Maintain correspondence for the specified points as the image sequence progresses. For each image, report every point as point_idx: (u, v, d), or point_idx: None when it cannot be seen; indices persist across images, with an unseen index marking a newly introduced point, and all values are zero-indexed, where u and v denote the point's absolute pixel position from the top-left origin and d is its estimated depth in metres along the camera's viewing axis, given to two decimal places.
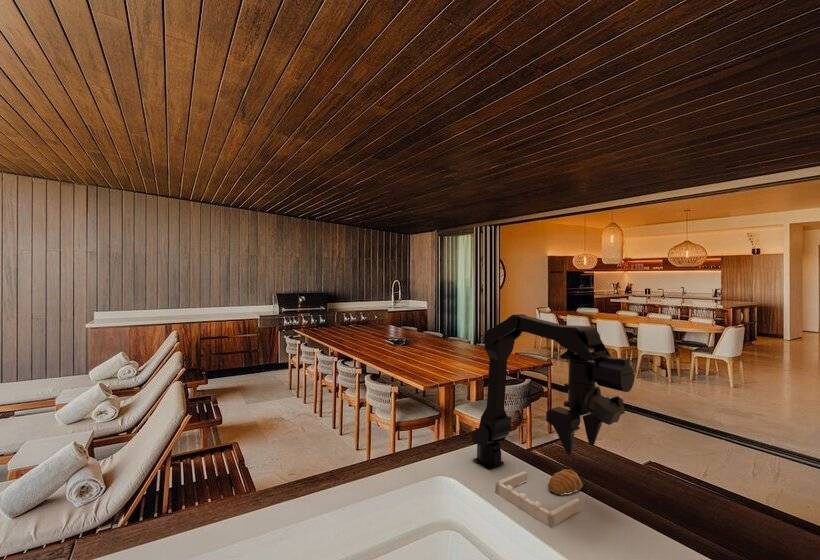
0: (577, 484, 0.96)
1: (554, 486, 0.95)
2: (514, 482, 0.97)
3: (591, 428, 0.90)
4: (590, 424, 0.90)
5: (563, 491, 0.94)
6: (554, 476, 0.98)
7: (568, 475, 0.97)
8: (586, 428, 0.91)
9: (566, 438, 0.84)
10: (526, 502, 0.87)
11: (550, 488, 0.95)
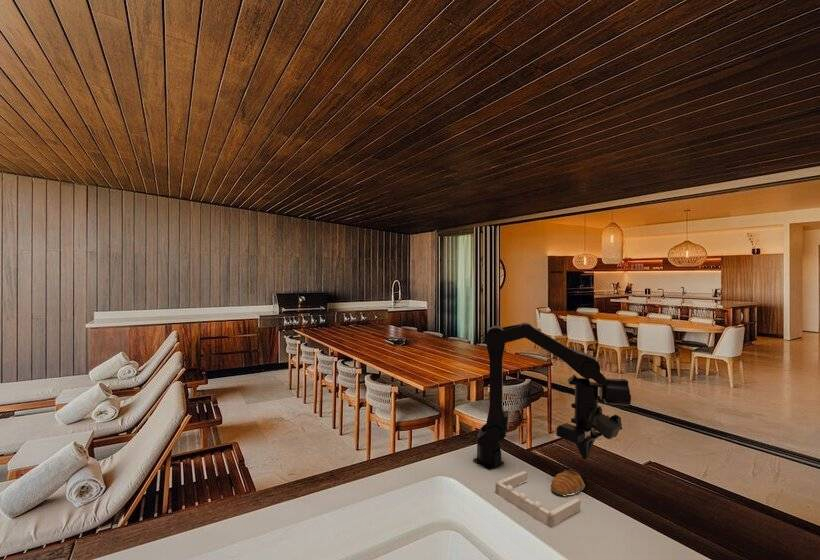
0: (579, 484, 0.96)
1: (557, 487, 0.94)
2: (514, 482, 0.97)
3: None
4: None
5: (566, 492, 0.93)
6: (556, 477, 0.98)
7: (571, 476, 0.97)
8: None
9: (582, 446, 1.02)
10: (526, 502, 0.87)
11: (553, 489, 0.95)
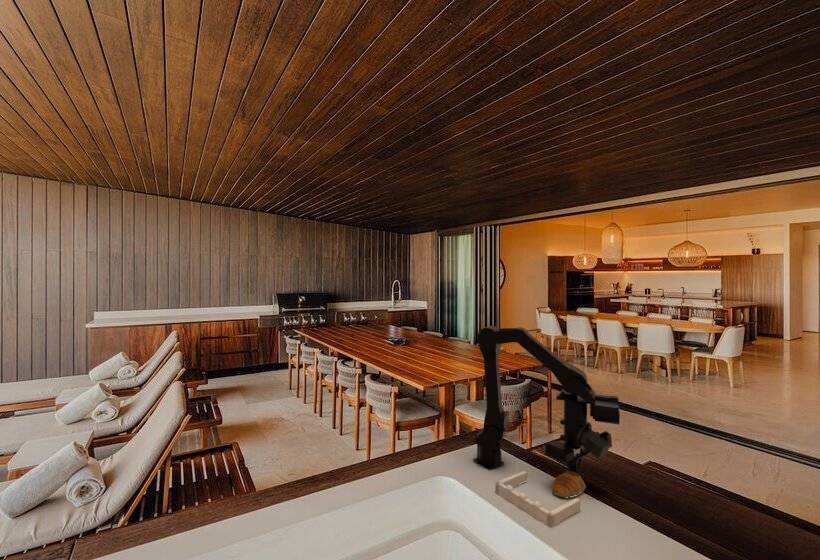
0: (581, 486, 0.95)
1: (559, 489, 0.93)
2: (514, 482, 0.97)
3: None
4: None
5: (568, 494, 0.92)
6: (557, 479, 0.97)
7: (572, 477, 0.96)
8: None
9: (572, 464, 0.99)
10: (526, 502, 0.87)
11: (555, 491, 0.94)
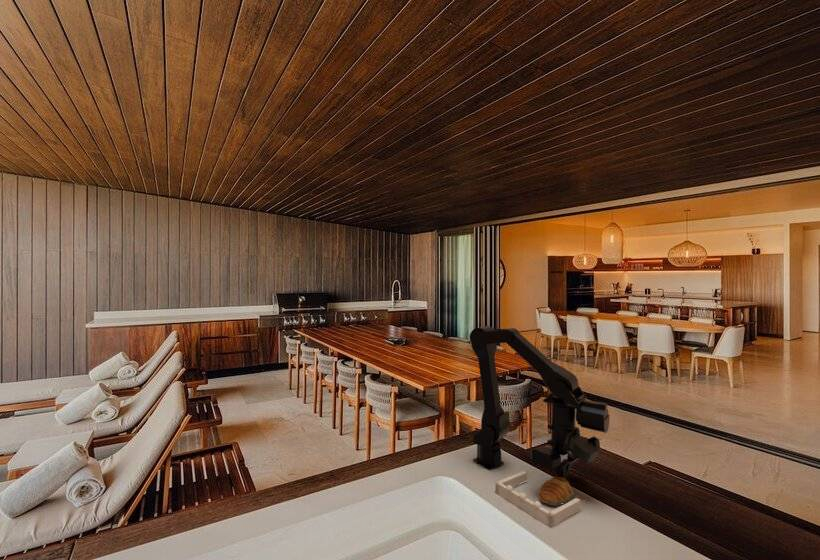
0: (569, 492, 0.92)
1: (547, 496, 0.90)
2: (514, 482, 0.97)
3: None
4: None
5: (556, 501, 0.89)
6: (545, 485, 0.93)
7: (559, 483, 0.93)
8: None
9: (559, 469, 0.96)
10: (526, 502, 0.87)
11: (542, 498, 0.90)
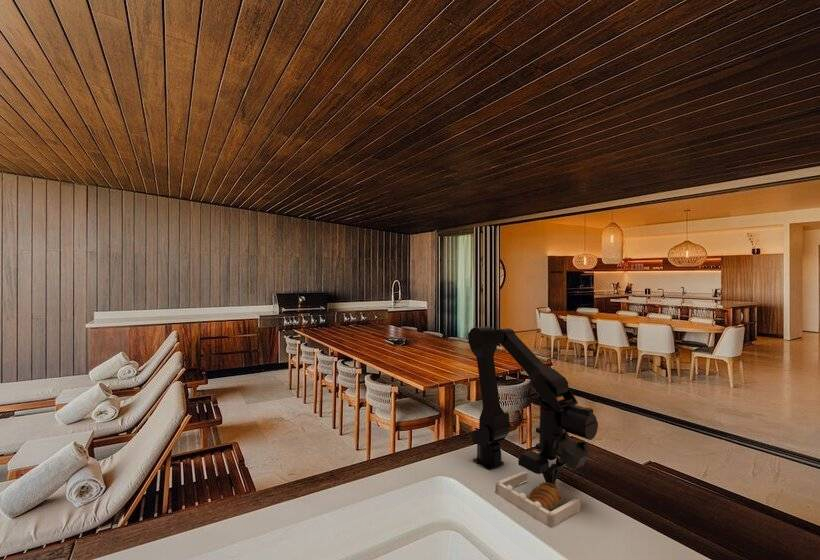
0: (558, 498, 0.89)
1: None
2: (514, 482, 0.97)
3: None
4: None
5: (546, 508, 0.86)
6: (534, 491, 0.90)
7: (549, 489, 0.90)
8: None
9: (548, 474, 0.94)
10: (526, 502, 0.87)
11: None
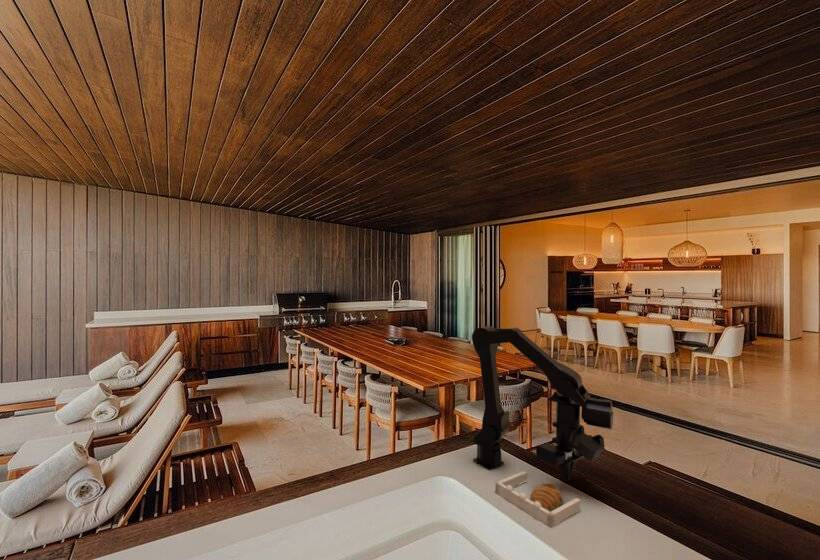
0: (559, 499, 0.89)
1: None
2: (514, 482, 0.97)
3: None
4: None
5: None
6: (535, 493, 0.90)
7: (549, 490, 0.90)
8: None
9: (564, 467, 0.97)
10: (526, 502, 0.87)
11: None
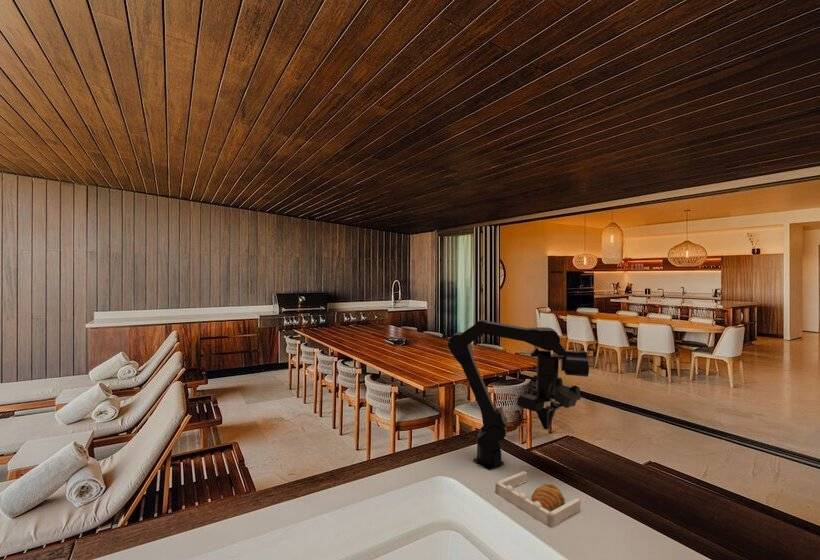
0: (560, 500, 0.89)
1: None
2: (514, 482, 0.97)
3: None
4: None
5: (549, 510, 0.86)
6: (536, 493, 0.90)
7: (551, 491, 0.90)
8: None
9: (543, 416, 1.05)
10: (526, 502, 0.87)
11: None
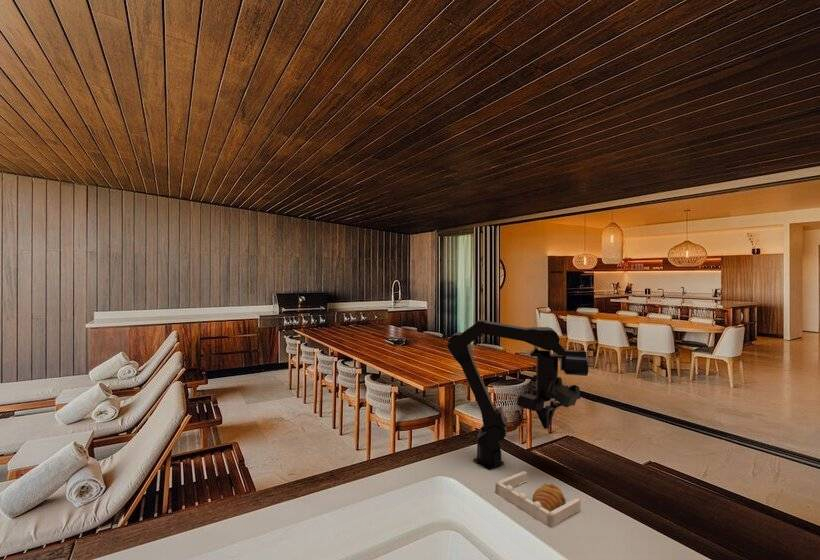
0: (561, 500, 0.89)
1: None
2: (514, 482, 0.97)
3: None
4: None
5: (550, 510, 0.86)
6: (537, 493, 0.90)
7: (552, 491, 0.90)
8: None
9: (543, 416, 1.05)
10: (526, 502, 0.87)
11: None
